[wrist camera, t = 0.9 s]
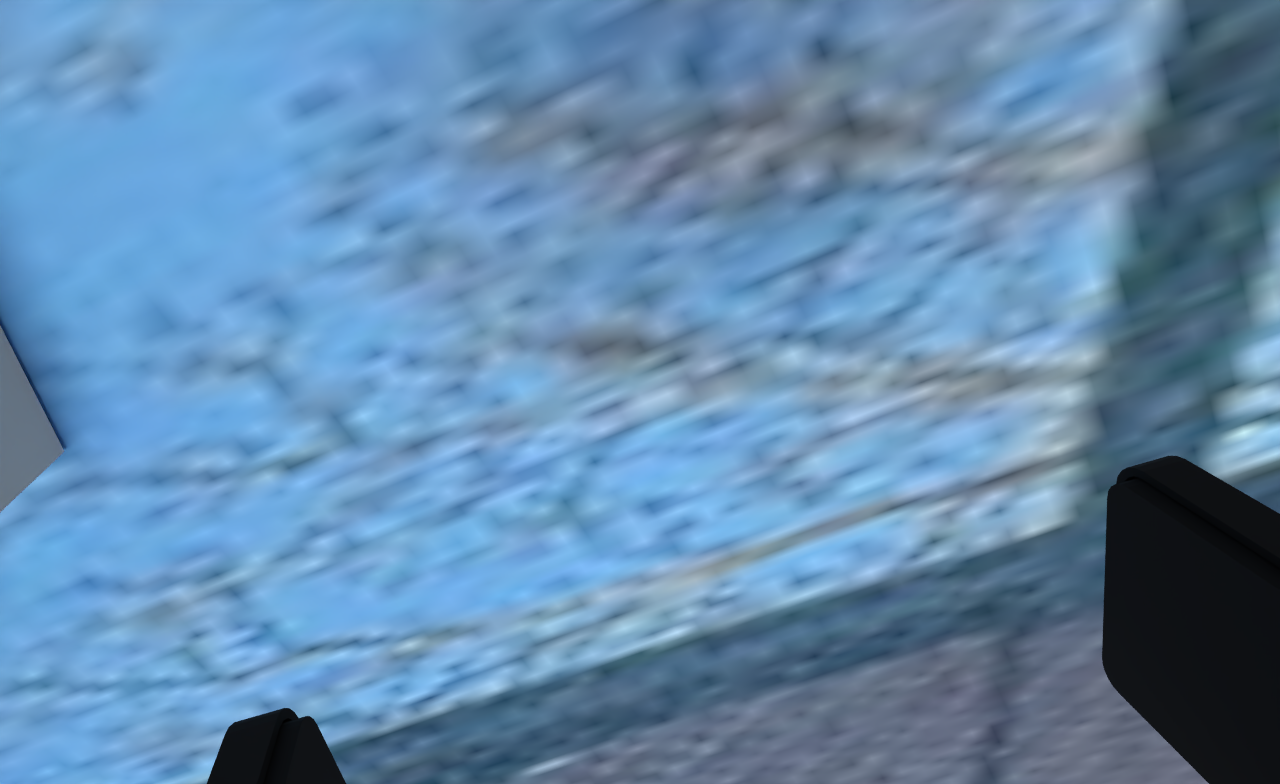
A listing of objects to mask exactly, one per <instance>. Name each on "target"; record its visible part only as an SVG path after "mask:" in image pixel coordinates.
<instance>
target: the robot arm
mask: <svg viewBox="0 0 1280 784" xmlns="http://www.w3.org/2000/svg"><path fill="white" fill-rule="evenodd" d="M1102 660H1103V666H1104V670H1105V672H1106V675H1107V677H1108V679H1109V680H1110V682H1111V684H1112V685H1113V687H1114V688H1115V689H1116V690H1117V691H1118V693H1119V694H1120V695H1121V696H1122V697H1123V698H1124V699H1125V700H1126V701H1127V702H1128V703H1129V704H1130V705H1131V706H1132V707H1133V708H1134V709H1135V710H1136V711H1137V712H1138V713H1139V714H1140V715H1141V716H1142V717H1143V718H1144V719H1145V720H1146V721H1147V722H1148V723H1149V724H1150V725H1151V726H1152V727H1153V728H1154V729H1155V730H1156V731H1157V732H1158V733H1159V734H1160V735H1161V736H1162V737H1163V738H1164V739H1165V740H1166V741H1167V742H1168V743H1169V744H1170V745H1171V746H1172V747H1173V748H1174V749H1175V750H1176V751H1177V752H1178V753H1179V754H1180V755H1181V756H1182V757H1183V758H1184V759H1185V760H1186V761H1187V762H1188V763H1189V764H1190V765H1191V766H1192V767H1193V768H1194V769H1195V770H1196V771H1197V772H1198V773H1199V774H1200V775H1201V776H1202V777H1203V778H1204V779H1205V780H1206V781H1207V782H1208V783H1209V784H1280V514H1279V513H1277V512H1276V511H1274V510H1272V509H1270V508H1269V507H1267V506H1265V505H1263V504H1262V503H1260V502H1258V501H1257V500H1255V499H1253V498H1251V497H1250V496H1248V495H1246V494H1244V493H1243V492H1241V491H1239V490H1238V489H1236V488H1234V487H1232V486H1231V485H1229V484H1227V483H1225V482H1224V481H1222V480H1220V479H1219V478H1217V477H1215V476H1213V475H1212V474H1210V473H1208V472H1206V471H1205V470H1203V469H1201V468H1200V467H1198V466H1196V465H1194V464H1193V463H1191V462H1189V461H1188V460H1186V459H1183V458H1181V457H1178V456H1167V457H1163V458H1160V459H1156V460H1153V461H1149V462H1146V463H1142V464H1139V465H1135V466H1131V467H1128V468H1126V469H1124V470H1122V471H1121V472H1120V474H1119V475H1118V477H1117V483H1116V484H1115V485H1113V486H1111V488H1110V489H1109V491H1108V496H1107V524H1106V555H1105V586H1104V617H1103V648H1102ZM207 784H346V783H345V780H344V778H343V776H342V774H341V772H340V770H339V768H338V766H337V764H336V762H335V760H334V758H333V756H332V754H331V752H330V750H329V748H328V746H327V744H326V742H325V740H324V738H323V736H322V734H321V732H320V730H319V727H318V725H317V724H316V722H315V721H314V719H313V718H311V717H310V716H306V717H302V718H298V717H297V715H296V714H295V712H294V711H292V710H291V709H290V708H283V709H280V710H276V711H273V712H269V713H266V714H262V715H259V716H255V717H252V718H248V719H245V720H241V721H238V722H235V723H233V724H232V725H231V726H229V728H228V730H227V732H226V734H225V736H224V739H223V741H222V744H221V747H220V749H219V752H218V755H217V758H216V760H215V763H214V766H213V768H212V771H211V774H210V776H209V779H208V782H207Z"/></svg>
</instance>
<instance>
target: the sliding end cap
mask: <svg viewBox="0 0 1280 784" xmlns="http://www.w3.org/2000/svg"><path fill="white" fill-rule="evenodd" d="M63 452H64V450H63V448H62V446H61V444H60V442H59V440H58V438H57V436H56V434H55V432H54V430H53V428H52V426H51V424H50V422H49V420H48V418H47V416H46V414H45V412H44V410H43V408H42V406H41V404H40V402H39V400H38V399H37V397H36V395H35V393H34V391H33V389H32V387H31V385H30V383H29V381H28V379H27V377H26V375H25V373H24V371H23V369H22V367H21V365H20V363H19V361H18V359H17V357H16V355H15V353H14V351H13V350H12V348H11V346H10V344H9V342H8V340H7V338H6V336H5V334H4V332H3V330H2V328H1V326H0V512H1V511H2V510H3V509H4V508H5V507H6V506H7V505H8V504H10V503H11V502H12V501H13V500H14V499H15V498H16V497H17V496H18V495H19V494H20V493H21V492H22V491H23V490H24V489H25V488H26V487H27V486H29V485H30V484H31V483H32V482H33V481H34V480H35V479H36V478H37V477H38V476H39V475H40V474H41V473H42V472H43V471H44V470H45V469H46V468H48V467H49V466H50V465H51V464H52V463H53V462H54V461H55V460H56V459H57V458H58V457H59V456H60V455H61V454H62V453H63Z"/></svg>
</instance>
